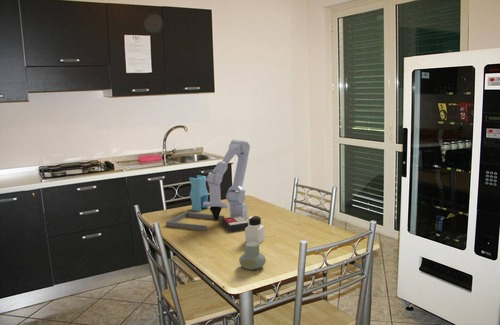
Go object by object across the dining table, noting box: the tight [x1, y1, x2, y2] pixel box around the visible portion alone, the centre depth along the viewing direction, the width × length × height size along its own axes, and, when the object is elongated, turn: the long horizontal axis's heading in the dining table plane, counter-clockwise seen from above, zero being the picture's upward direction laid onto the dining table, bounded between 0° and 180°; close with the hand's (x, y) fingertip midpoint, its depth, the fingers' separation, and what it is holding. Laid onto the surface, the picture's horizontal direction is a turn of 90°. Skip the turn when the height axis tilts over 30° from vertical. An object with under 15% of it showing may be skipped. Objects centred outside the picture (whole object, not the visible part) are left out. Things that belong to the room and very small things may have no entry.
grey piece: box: [165, 211, 225, 232], centre depth 252 cm, size 25×20×2 cm
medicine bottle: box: [244, 215, 265, 245], centre depth 220 cm, size 7×7×12 cm
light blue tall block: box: [188, 175, 210, 213], centre depth 278 cm, size 8×8×20 cm
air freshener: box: [238, 242, 267, 271], centre depth 189 cm, size 11×8×10 cm
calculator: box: [221, 216, 248, 233], centre depth 243 cm, size 11×4×15 cm
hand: (216, 219), depth 246 cm, fingers closed
